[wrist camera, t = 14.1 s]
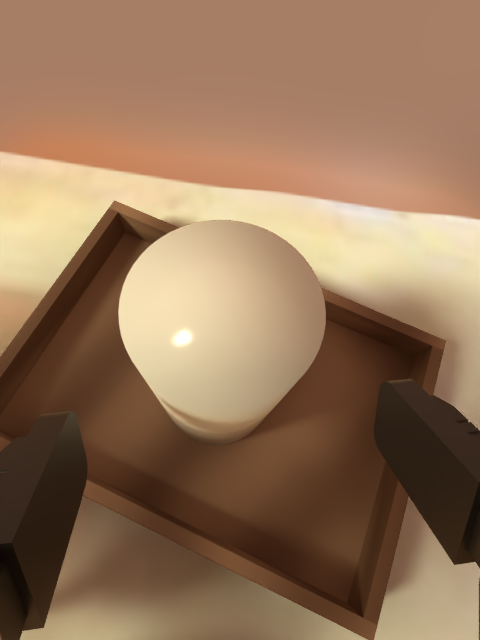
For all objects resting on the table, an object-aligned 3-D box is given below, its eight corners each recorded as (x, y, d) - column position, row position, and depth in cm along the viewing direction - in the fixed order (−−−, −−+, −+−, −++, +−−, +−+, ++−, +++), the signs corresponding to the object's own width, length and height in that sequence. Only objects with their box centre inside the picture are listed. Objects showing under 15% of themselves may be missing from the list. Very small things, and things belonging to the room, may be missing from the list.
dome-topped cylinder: (145, 415, 20) (75, 350, 10) (195, 325, 22) (181, 193, 12) (243, 464, 19) (279, 450, 9) (285, 367, 21) (352, 266, 11)
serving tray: (-13, 434, 20) (-51, 427, 17) (125, 232, 25) (114, 200, 22) (346, 615, 18) (373, 641, 15) (416, 357, 23) (445, 340, 20)
